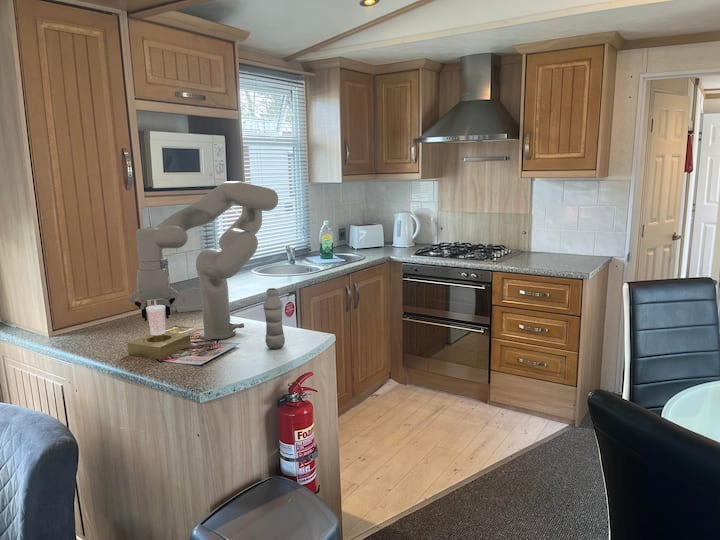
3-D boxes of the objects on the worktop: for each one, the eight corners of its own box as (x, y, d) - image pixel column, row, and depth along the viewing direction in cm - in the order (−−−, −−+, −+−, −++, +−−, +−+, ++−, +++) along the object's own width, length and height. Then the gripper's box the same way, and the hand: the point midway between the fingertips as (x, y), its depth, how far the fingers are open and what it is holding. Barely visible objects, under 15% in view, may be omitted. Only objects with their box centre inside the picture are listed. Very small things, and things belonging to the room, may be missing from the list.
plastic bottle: (267, 351, 173) (263, 292, 170) (264, 345, 180) (261, 288, 176) (286, 349, 175) (283, 290, 171) (283, 343, 182) (280, 286, 178)
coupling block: (159, 341, 187) (158, 330, 186) (190, 345, 182) (189, 334, 181) (128, 354, 175) (127, 342, 174) (161, 359, 169) (159, 347, 168)
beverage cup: (151, 337, 173) (146, 295, 170) (146, 332, 178) (142, 292, 175) (170, 333, 176) (166, 292, 174) (164, 329, 181) (161, 289, 179)
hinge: (176, 312, 226) (174, 289, 228) (177, 313, 231) (175, 290, 232) (216, 308, 231) (215, 286, 232) (216, 309, 235) (215, 287, 237)
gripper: (178, 261, 179) (183, 313, 183) (123, 266, 173) (128, 319, 176) (180, 265, 172) (184, 318, 176) (122, 269, 166) (128, 325, 169)
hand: (156, 318), depth 176 cm, fingers closed on beverage cup, 6 cm apart
